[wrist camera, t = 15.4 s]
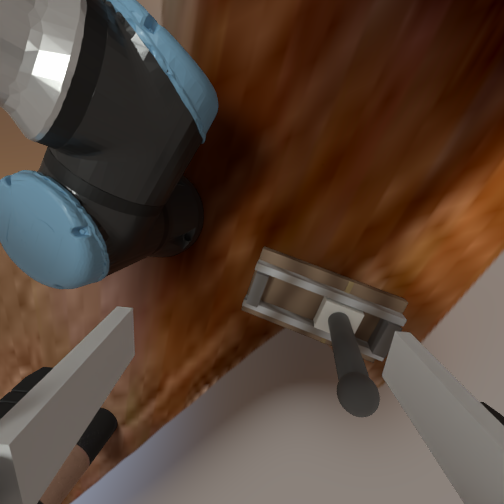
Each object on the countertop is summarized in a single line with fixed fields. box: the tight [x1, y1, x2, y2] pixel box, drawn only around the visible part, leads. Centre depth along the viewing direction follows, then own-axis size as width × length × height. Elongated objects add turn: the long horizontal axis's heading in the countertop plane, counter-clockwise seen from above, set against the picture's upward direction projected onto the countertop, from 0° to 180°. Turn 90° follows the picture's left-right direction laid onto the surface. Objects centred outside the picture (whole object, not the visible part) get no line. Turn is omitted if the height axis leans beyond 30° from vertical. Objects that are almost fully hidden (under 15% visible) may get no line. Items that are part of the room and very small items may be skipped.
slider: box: [313, 296, 380, 417], centre depth 33 cm, size 6×5×19 cm
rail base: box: [241, 246, 408, 363], centre depth 42 cm, size 24×12×4 cm, turn 72°
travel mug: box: [37, 408, 117, 504], centre depth 52 cm, size 8×8×20 cm
